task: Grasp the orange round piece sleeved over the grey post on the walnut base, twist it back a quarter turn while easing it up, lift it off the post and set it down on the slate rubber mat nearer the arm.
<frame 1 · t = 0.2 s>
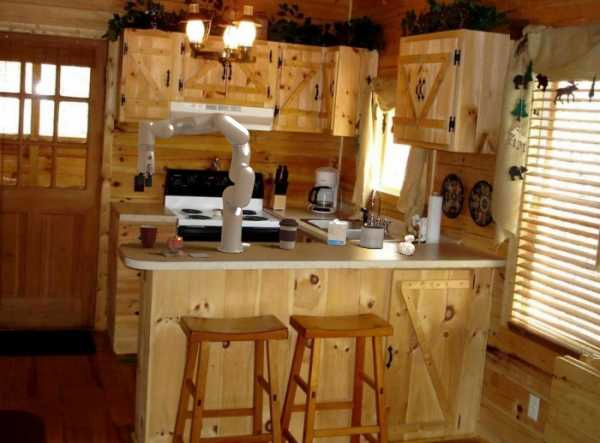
hand: (144, 185, 374), 31 cm above the worktop, fingers open, 9 cm apart
mat: (199, 255, 378), on the worktop
orange round piece: (174, 246, 375), point 4 cm above the worktop, touching post base
duck figurine: (406, 254, 427), on the worktop
ink box: (336, 244, 443), on the worktop
coffee cup: (286, 248, 417), on the worktop
planter: (371, 247, 441), on the worktop
post base: (174, 254, 376), on the worktop
mug: (148, 248, 390), on the worktop
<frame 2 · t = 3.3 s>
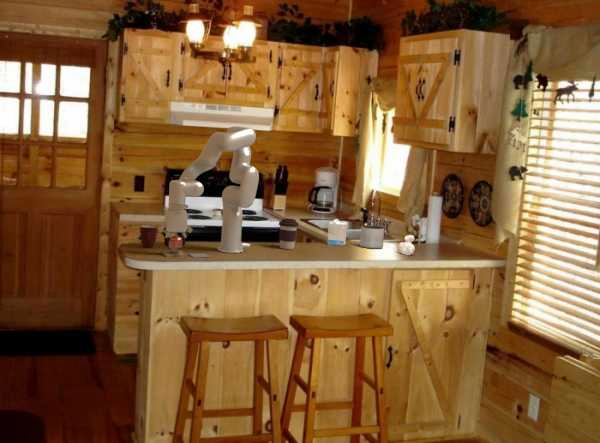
hand: (174, 245, 375), 4 cm above the worktop, fingers closed on orange round piece, 6 cm apart
orange round piece: (174, 246, 375), point 4 cm above the worktop, touching gripper, post base
everything else where it was.
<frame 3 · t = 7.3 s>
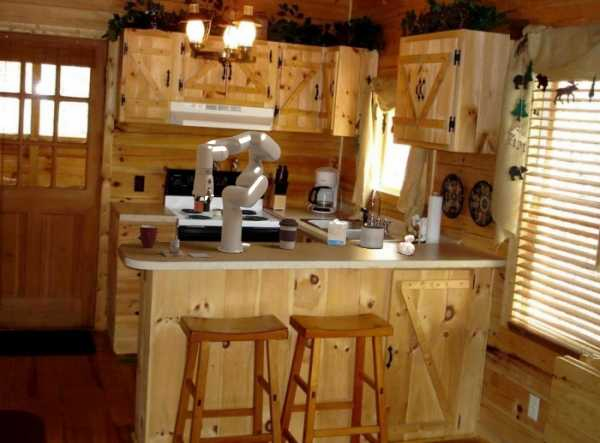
hand: (201, 210, 375), 21 cm above the worktop, fingers closed on orange round piece, 6 cm apart
orange round piece: (201, 210, 375), point 21 cm above the worktop, touching gripper
everything else where it was.
when the fingers open (2 cm above the worktop, at t = 11.3 s): orange round piece drops 1 cm, resting on mat.
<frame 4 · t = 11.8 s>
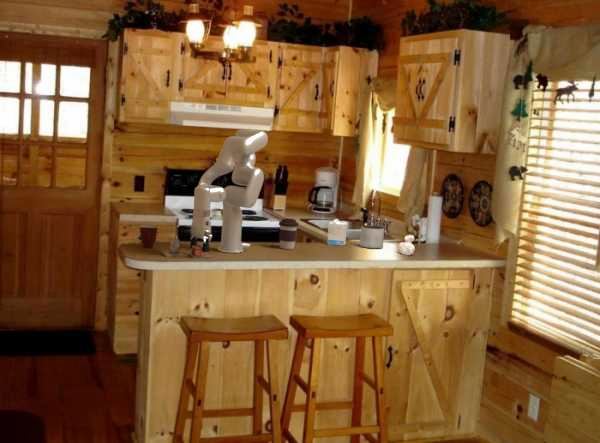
hand: (199, 250, 378), 3 cm above the worktop, fingers open, 9 cm apart
orange round piece: (199, 255, 378), resting on mat
everything else where it was.
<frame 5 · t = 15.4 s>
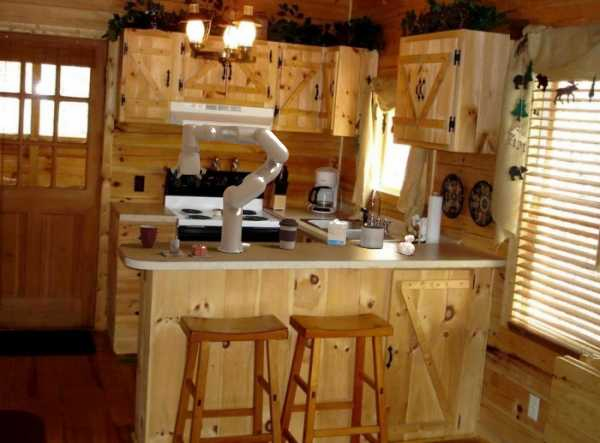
hand: (187, 186, 387), 30 cm above the worktop, fingers open, 9 cm apart
nothing on the worktop moved.
at the end: orange round piece inside the target area on the mat (0.1 cm from its centre), point 0.4 cm above the mat's base; orange round piece tilted 0°; orange round piece touching mat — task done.
